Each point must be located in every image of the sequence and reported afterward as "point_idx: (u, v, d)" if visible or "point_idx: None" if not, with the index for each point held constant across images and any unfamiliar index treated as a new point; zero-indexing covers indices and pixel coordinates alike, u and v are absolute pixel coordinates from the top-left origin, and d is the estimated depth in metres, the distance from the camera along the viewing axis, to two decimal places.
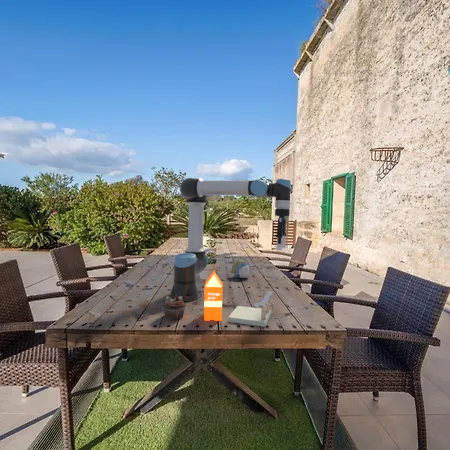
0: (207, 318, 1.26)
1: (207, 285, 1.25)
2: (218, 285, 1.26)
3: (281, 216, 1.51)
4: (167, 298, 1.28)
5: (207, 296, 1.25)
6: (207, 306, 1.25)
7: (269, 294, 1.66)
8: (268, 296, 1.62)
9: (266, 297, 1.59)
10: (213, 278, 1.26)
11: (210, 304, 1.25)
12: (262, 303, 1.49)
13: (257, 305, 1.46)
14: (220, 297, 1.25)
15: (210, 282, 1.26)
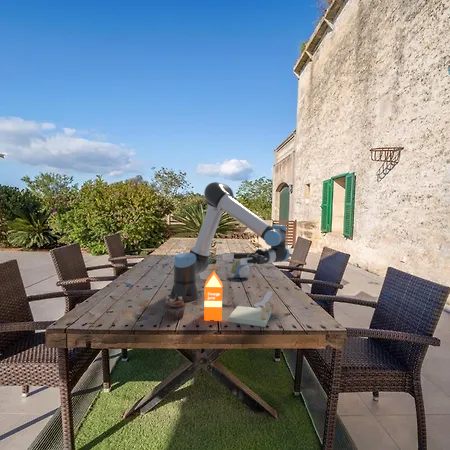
0: (207, 318, 1.26)
1: (207, 285, 1.25)
2: (218, 285, 1.26)
3: None
4: (167, 298, 1.28)
5: (207, 296, 1.25)
6: (207, 306, 1.25)
7: (269, 294, 1.66)
8: (268, 296, 1.62)
9: (266, 297, 1.59)
10: (213, 278, 1.26)
11: (210, 304, 1.25)
12: (262, 303, 1.49)
13: (257, 305, 1.46)
14: (220, 297, 1.25)
15: (210, 282, 1.26)
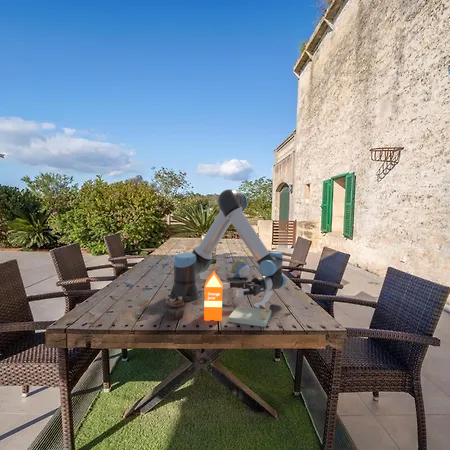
0: (207, 318, 1.26)
1: (207, 285, 1.25)
2: (218, 285, 1.26)
3: None
4: (167, 298, 1.28)
5: (207, 296, 1.25)
6: (207, 306, 1.25)
7: (269, 294, 1.66)
8: (268, 296, 1.62)
9: (266, 297, 1.59)
10: (213, 278, 1.26)
11: (210, 304, 1.25)
12: (262, 303, 1.49)
13: (257, 305, 1.46)
14: (220, 297, 1.25)
15: (210, 282, 1.26)
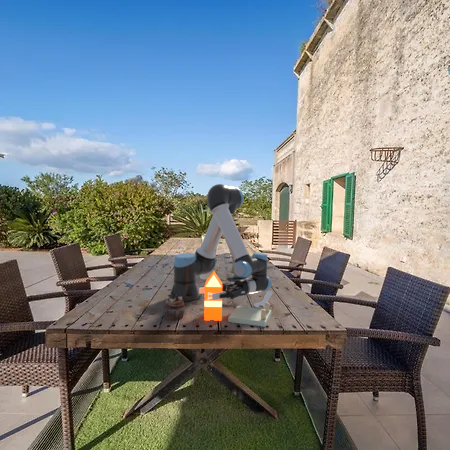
0: (207, 318, 1.26)
1: (207, 285, 1.25)
2: (218, 285, 1.26)
3: None
4: (167, 298, 1.28)
5: (206, 296, 1.25)
6: (207, 306, 1.25)
7: (269, 294, 1.66)
8: (268, 296, 1.62)
9: (266, 297, 1.59)
10: (213, 278, 1.26)
11: (210, 304, 1.25)
12: (262, 303, 1.49)
13: (257, 305, 1.46)
14: None
15: (210, 282, 1.26)
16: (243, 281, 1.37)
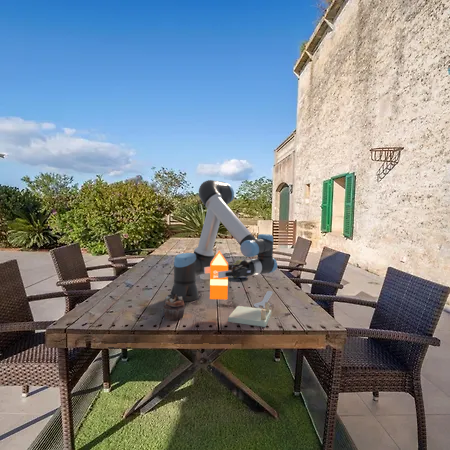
0: (213, 297, 1.25)
1: (213, 263, 1.25)
2: (224, 263, 1.25)
3: None
4: (167, 298, 1.28)
5: (212, 274, 1.24)
6: (213, 284, 1.25)
7: (269, 294, 1.66)
8: (268, 296, 1.62)
9: (266, 297, 1.59)
10: (219, 256, 1.25)
11: (216, 282, 1.25)
12: (262, 303, 1.49)
13: (257, 305, 1.46)
14: None
15: (216, 260, 1.25)
16: (249, 261, 1.37)
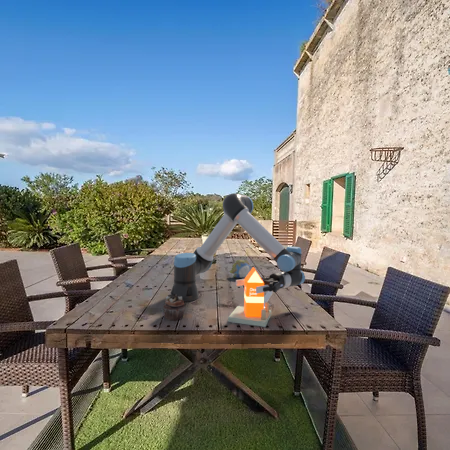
0: (249, 314, 1.25)
1: (249, 281, 1.25)
2: (260, 281, 1.26)
3: None
4: (167, 298, 1.28)
5: (248, 292, 1.25)
6: (249, 302, 1.25)
7: (269, 294, 1.66)
8: (268, 296, 1.62)
9: (266, 297, 1.59)
10: (254, 274, 1.26)
11: (252, 300, 1.25)
12: None
13: None
14: (262, 293, 1.25)
15: (252, 278, 1.26)
16: (279, 275, 1.37)
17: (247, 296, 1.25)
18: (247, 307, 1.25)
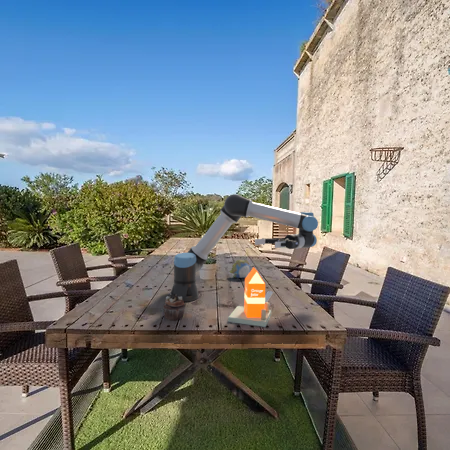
0: (250, 315, 1.25)
1: (250, 282, 1.25)
2: (261, 282, 1.25)
3: None
4: (167, 298, 1.28)
5: (250, 293, 1.24)
6: (250, 303, 1.25)
7: (269, 294, 1.66)
8: (268, 296, 1.62)
9: (266, 297, 1.59)
10: (256, 275, 1.25)
11: (253, 300, 1.25)
12: None
13: None
14: (263, 294, 1.25)
15: (253, 279, 1.25)
16: (294, 235, 1.51)
17: (248, 297, 1.24)
18: (248, 308, 1.25)
